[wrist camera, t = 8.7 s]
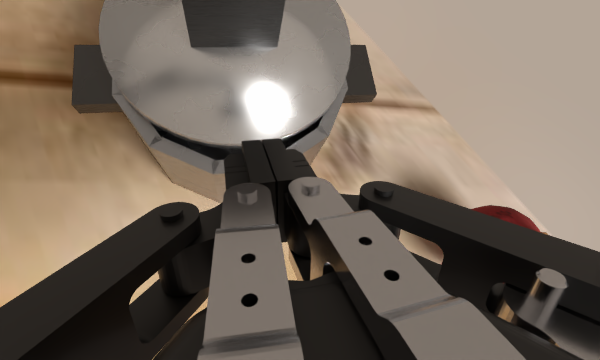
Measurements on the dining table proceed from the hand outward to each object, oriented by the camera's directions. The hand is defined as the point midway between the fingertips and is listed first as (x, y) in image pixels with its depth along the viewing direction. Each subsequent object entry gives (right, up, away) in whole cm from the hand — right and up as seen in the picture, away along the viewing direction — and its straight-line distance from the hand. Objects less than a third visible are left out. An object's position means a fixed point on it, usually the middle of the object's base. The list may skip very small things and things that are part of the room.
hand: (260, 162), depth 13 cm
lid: (-3, +8, +7) cm, 11 cm away
